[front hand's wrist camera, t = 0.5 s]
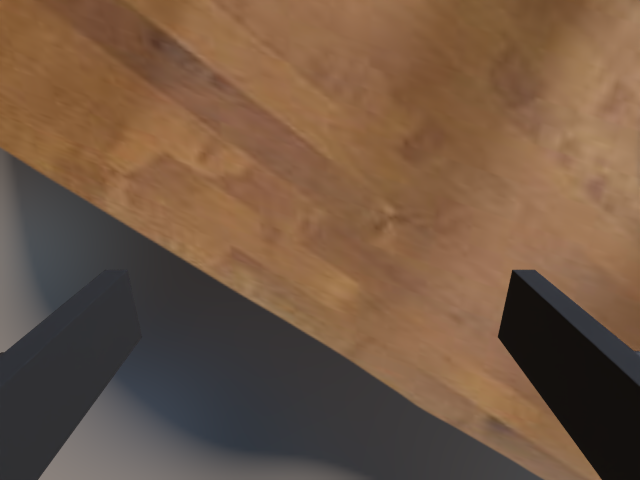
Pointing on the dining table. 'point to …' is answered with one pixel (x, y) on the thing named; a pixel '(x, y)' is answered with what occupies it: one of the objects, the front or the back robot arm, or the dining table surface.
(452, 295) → the dining table surface
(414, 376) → the dining table surface
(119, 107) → the dining table surface
